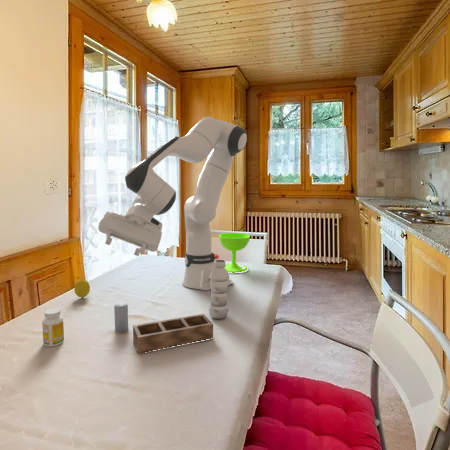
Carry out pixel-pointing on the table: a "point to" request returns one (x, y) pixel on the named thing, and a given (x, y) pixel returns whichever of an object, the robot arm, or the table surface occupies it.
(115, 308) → the slate peg
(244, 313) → the table surface
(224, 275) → the plastic bottle
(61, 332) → the supplement bottle
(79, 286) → the lemon
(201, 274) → the robot arm
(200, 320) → the walnut rack
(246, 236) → the wineglass
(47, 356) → the table surface
